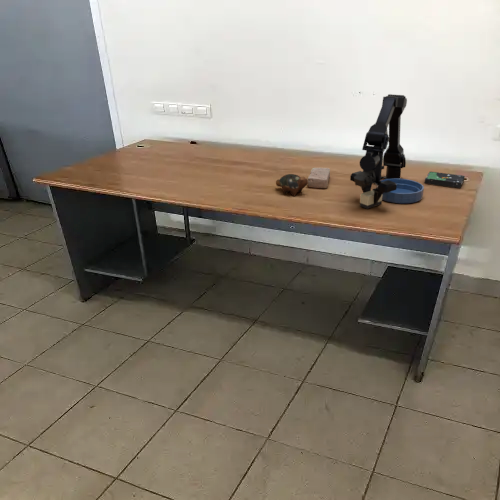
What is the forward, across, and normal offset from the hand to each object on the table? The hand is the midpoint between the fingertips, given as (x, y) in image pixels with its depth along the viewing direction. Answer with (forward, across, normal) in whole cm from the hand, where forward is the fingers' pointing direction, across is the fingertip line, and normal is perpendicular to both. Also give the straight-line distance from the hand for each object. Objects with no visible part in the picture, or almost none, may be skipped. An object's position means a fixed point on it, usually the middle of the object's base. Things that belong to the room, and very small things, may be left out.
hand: (370, 202), depth 196 cm
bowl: (+1, 0, +17) cm, 17 cm away
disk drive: (+2, +1, +45) cm, 45 cm away
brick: (+2, -33, +3) cm, 33 cm away
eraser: (+1, 0, 0) cm, 1 cm away
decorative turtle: (+2, -31, -15) cm, 34 cm away
